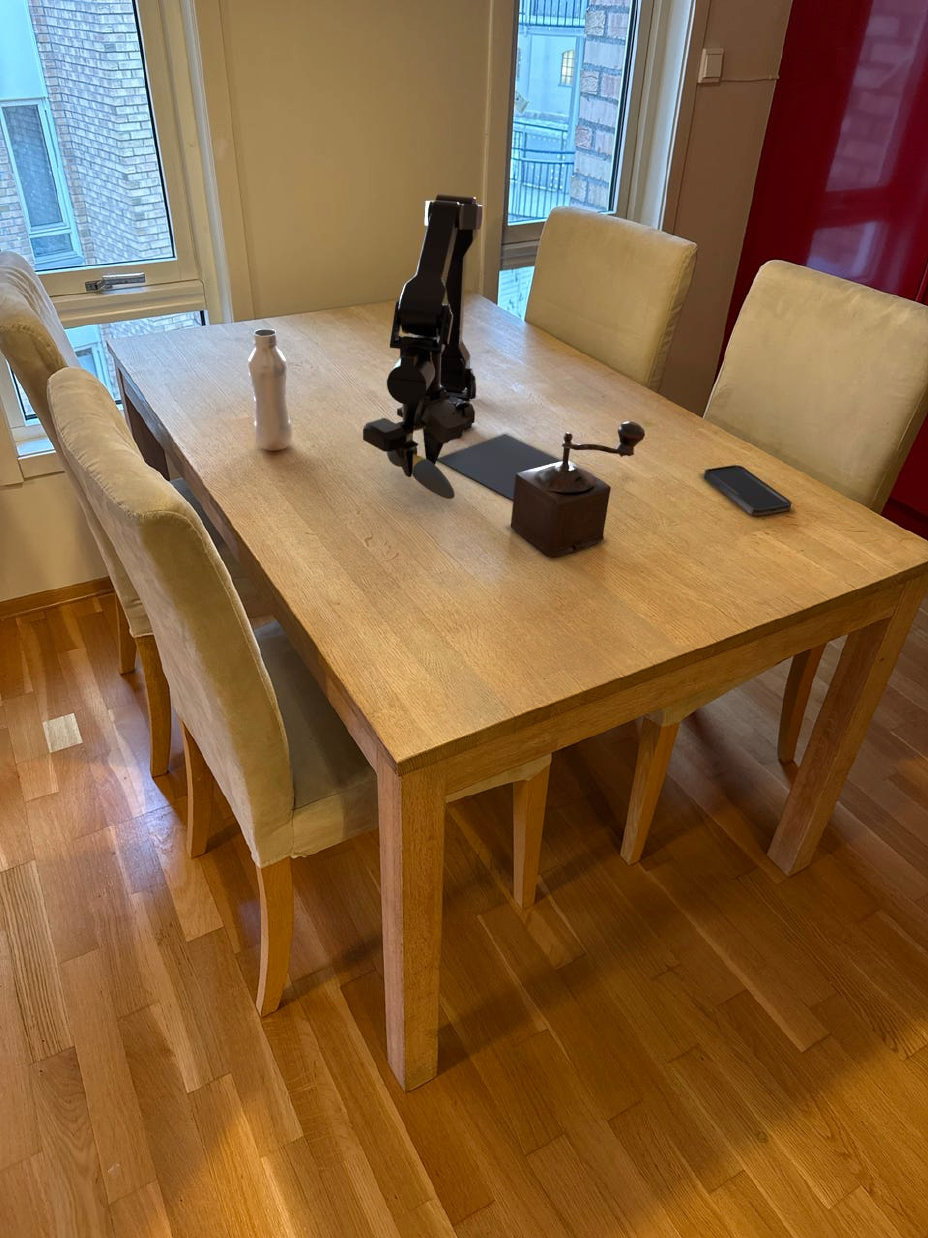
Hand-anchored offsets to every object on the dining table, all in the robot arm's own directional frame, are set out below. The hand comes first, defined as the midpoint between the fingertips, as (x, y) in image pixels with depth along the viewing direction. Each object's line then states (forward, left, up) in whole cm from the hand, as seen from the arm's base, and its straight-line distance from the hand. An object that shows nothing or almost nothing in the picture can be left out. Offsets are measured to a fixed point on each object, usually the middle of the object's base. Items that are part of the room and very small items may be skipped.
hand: (419, 472), depth 145 cm
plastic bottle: (-27, -10, -3) cm, 29 cm away
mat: (+4, +17, -3) cm, 18 cm away
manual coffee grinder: (+25, +9, -3) cm, 27 cm away
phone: (+35, +42, -3) cm, 55 cm away
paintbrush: (0, 0, -1) cm, 1 cm away
